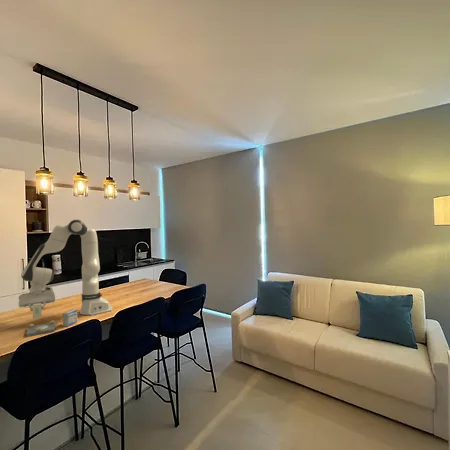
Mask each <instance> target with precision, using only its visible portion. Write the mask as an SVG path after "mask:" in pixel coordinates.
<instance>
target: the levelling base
mask: <svg viewBox="0 0 450 450" xmlns="http://www.w3.org/2000/svg"><path fill="white" fill-rule="evenodd" d="M55 331H56V322H55V320H54V319H53V320H49V322H48V323H43V324H42V323H41V324H37V325H34V323H29V324H28V327H27V330H26V334H25V338H26V337H33V336H37V335H44V334H49V333H55Z"/></svg>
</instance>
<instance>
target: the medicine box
mask: <svg viewBox="0 0 450 450" xmlns="http://www.w3.org/2000/svg"><path fill="white" fill-rule="evenodd" d="M77 323H78V309H69V310H68V311H65V312H62V327H67V328H68V327H70V326H73V325H74V324H77Z"/></svg>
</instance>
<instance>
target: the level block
mask: <svg viewBox="0 0 450 450" xmlns="http://www.w3.org/2000/svg"><path fill="white" fill-rule="evenodd" d="M41 306H42V304H41V303H36V304H33V305H32V307H33V311H32V319H38V318H42V314H43V313H42V311H43V309H41Z"/></svg>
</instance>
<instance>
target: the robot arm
mask: <svg viewBox="0 0 450 450" xmlns="http://www.w3.org/2000/svg"><path fill="white" fill-rule="evenodd" d="M71 235H76V236H77V235H79V236H80V239H81V257H82V265H81V283H82V291H81V292H82V293H81V307H80V311H79V314H80V315H84V316H85V315H87V316H94V315H98V314H102V313H108V312H112V311H113V306H111V305H110V301H108V300H107V299H106V298H105V297H103V296H104V295H103V293H102V292H99V286H100V284H99V283H100V282H99V272H100V270H101V265H100V264H101V263H100V257H99V241H98V235H97V231H96V229H94V228H91V227H87V225H86V224H85V223H84V222H83V221H82V220H81V219H73V220H70V222H69V223H68V224H67V225H64V224H58V225H56V226H54V228H53V229H52V232H51V233H50V235H49V238H48V239H47V241H45V242H44V243H42V244H40V245H39V246H38V248H37V249H36V251H35V253H34V254H33V255H32V257H31V258H30V259H29V262H28V263H27V265H26V266H25V267H24V268H23V270H22V272H21V275H20V277H21V278H22V280H24V281H25V282H30V290H29V292H28V293H21V294H19V296H18V307H20V308H25V307H28V308H29V310H30V312H33V304H36V303H41V309H42V310H44V309H45V306H46V305H47V304H51V303H55V302H56V295H55V291H54V289H53V287H51V286H47V284H49V283H51V282H52V281H53V280H54V276H55V273H54V270H53V269H51V268H47V267H38V266H37V264H38V263H39V261H40V260H41V258H42V257H43V256H44V255H47V254H51V253H52V254H53V253H58V252H60V251H62V250H63V249H64V248H65V247H66V244H67V241H68V239H69V237H70V236H71Z"/></svg>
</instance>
